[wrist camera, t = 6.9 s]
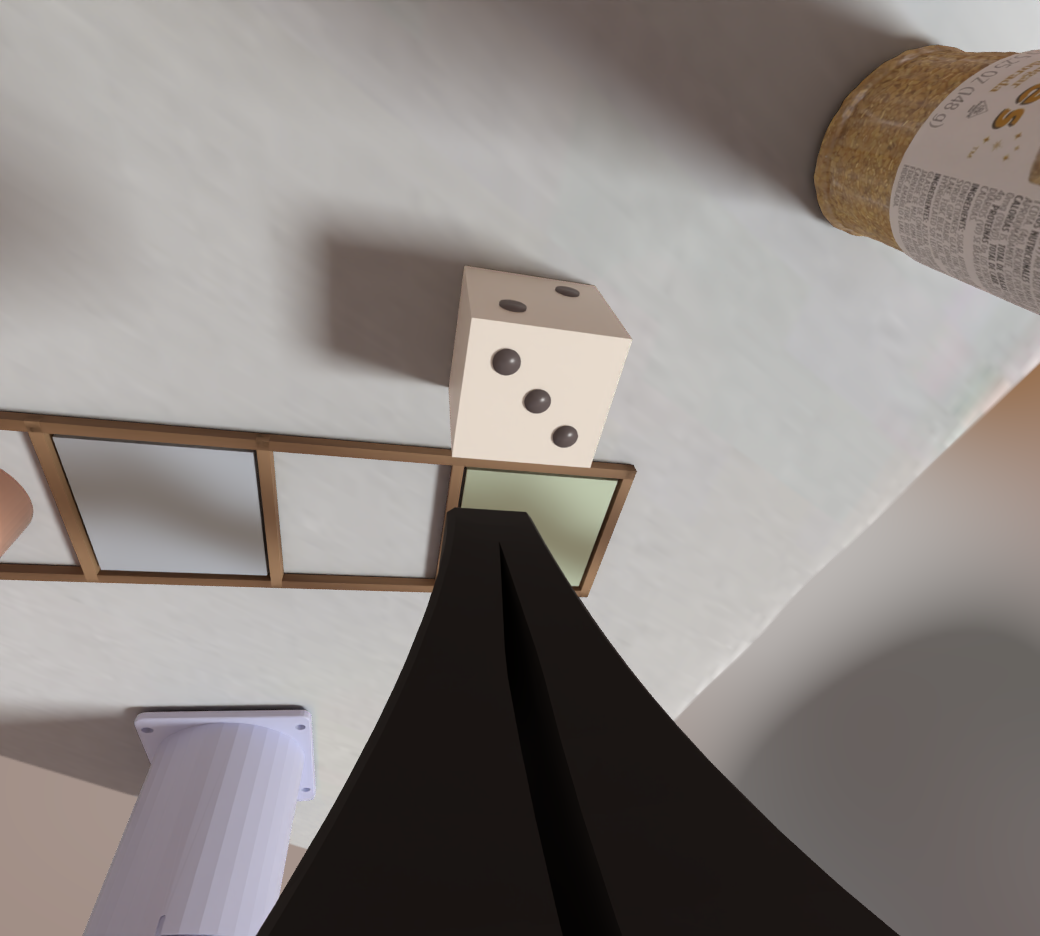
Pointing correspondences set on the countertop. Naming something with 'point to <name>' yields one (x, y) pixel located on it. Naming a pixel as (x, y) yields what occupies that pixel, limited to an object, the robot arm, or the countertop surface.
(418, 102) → the countertop surface
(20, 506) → the peach domed cylinder
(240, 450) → the brown divided frame
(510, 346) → the die
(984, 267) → the sprinkles bottle
